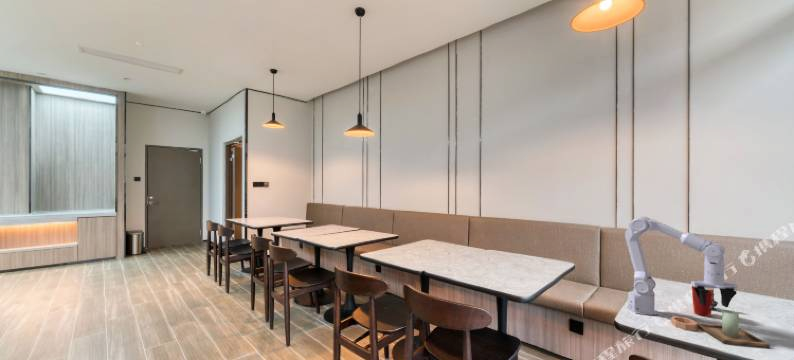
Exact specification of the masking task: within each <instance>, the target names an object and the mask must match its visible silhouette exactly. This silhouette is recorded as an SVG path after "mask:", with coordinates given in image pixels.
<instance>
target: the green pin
mask: <svg viewBox="0 0 794 360" xmlns="http://www.w3.org/2000/svg"><path fill="white" fill-rule="evenodd" d="M721 313H722V314H721V319H722V320H721V321H722V322H721V325H722V334H724V335H726V336H728V337H732V338H739V328H740V327H739V326H740V321H739V320H740V317H739V316H740V314H739V313H738V312H736V311H732V310H726V309H722V310H721Z"/></svg>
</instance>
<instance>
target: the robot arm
mask: <svg viewBox="0 0 794 360" xmlns="http://www.w3.org/2000/svg"><path fill="white" fill-rule="evenodd" d="M647 231H649V232H653V231H654V232H660V233H663V234H664V235H667V236H670V237H673V238H674V239H675V238H676V239H678V240H680V242H681V244H682V245H684V246H687V247H688V248H691V249H693V250H695V251H698V252H700V253H703V255H704V260H703V262H704V264H703V265H704V266H703V267H704V268H703V280H691V281H690V282H691V284H690V286H691V288H692V287H693V289H694V290H695V292H696V294H697V296H698V299H699V302H700V304H702V305H704V306H705V305H706V295H707V293H708V290H705V288H704V287H707V288H714V289H719V291H720V296H721V297H720V298H721V302H720V303H721V306H723V307H724V308H729V306H730V303H731V300H733V298H734V296H736V295H737V293H738V292H737V291H738V285H737V284H734V283H729V282H725V257H724V255H725V253H726V248H725V246H724V245H723V244H721V243H719V242H716V241H713V240H712V239H707V238H704V237H702V236H699V235H698V233H696V232H693V233H692V232H685V233H684V232H682V231H680V230H678V229H675V228H674V227H671V226H669V225H667V224H666V223H663V222H661V221H658V220H656V219H653V218H650V217H648V216H640V217H636V218H634V219H632V220H631V221H630V222H628V226H627V228H626V231H625V234H624V237H625V241H626V245H627V249H628V252H629V256H630V260H631V263H632V268H633V273H634V275H633V281H634V282H633V288H634V290H631V291H628V293H627V308H628V309H629V310H631V311H632V312H633V313H635V314H637V315H638V314H639V315H640V314H641V315H653V316H659V315H658V314H659V313H658V312H657V311H656V310H655V296H656V295H655V291H654V289H655V288H656V285H657V284H656V281H655V280H654V279H653V277H652V275H651V273H650V272H649V270H648V265H647V263H646V259H645V255H644V252H643V249H642V244H641V240H640V237H641V236H642V235H643V234H644V233H645V232H647ZM654 314H655V315H654ZM656 314H657V315H656Z"/></svg>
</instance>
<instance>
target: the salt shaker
mask: <svg viewBox="0 0 794 360" xmlns="http://www.w3.org/2000/svg"><path fill="white" fill-rule="evenodd" d="M714 290H715V289H714ZM714 290H713V300H712V311H711V312H717V311H718V309H717V308H716V307H717V306H718V304H719V302H718V301H716V300H715V293H714V292H715V291H714Z"/></svg>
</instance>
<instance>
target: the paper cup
mask: <svg viewBox="0 0 794 360" xmlns="http://www.w3.org/2000/svg"><path fill="white" fill-rule="evenodd" d="M704 288H705V290H708V293H707V295H706V305H705V306H704V305H702V304H700V302H699V299H698V296H697V294H696V292H695V290H694V289H693V287H692V286H691V292H692V293H691V294H692V307H693V309H692V310H693V314H695V315H697V316H700V317H705V318H711V317H712V312H713V311H712V300H713V290H715V288H707V287H704Z"/></svg>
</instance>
